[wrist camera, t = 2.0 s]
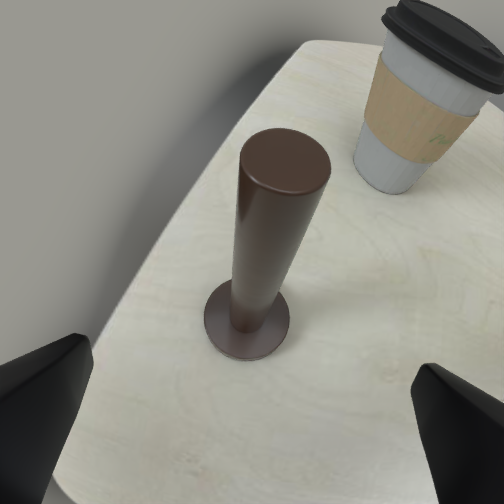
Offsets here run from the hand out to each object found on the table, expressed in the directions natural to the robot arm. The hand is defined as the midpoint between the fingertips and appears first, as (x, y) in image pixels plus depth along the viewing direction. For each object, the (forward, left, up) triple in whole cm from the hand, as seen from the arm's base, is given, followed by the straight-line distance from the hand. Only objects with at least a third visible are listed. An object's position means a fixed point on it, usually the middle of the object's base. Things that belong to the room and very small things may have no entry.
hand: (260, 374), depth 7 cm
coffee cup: (+16, -14, -11) cm, 24 cm away
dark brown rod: (+4, -1, -11) cm, 12 cm away
